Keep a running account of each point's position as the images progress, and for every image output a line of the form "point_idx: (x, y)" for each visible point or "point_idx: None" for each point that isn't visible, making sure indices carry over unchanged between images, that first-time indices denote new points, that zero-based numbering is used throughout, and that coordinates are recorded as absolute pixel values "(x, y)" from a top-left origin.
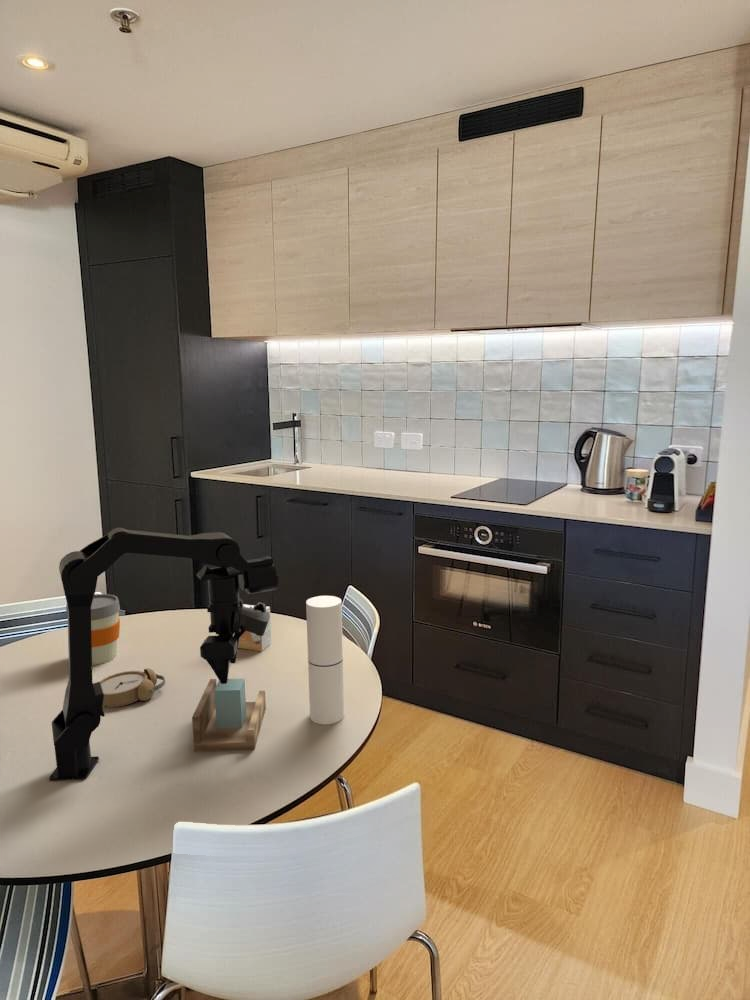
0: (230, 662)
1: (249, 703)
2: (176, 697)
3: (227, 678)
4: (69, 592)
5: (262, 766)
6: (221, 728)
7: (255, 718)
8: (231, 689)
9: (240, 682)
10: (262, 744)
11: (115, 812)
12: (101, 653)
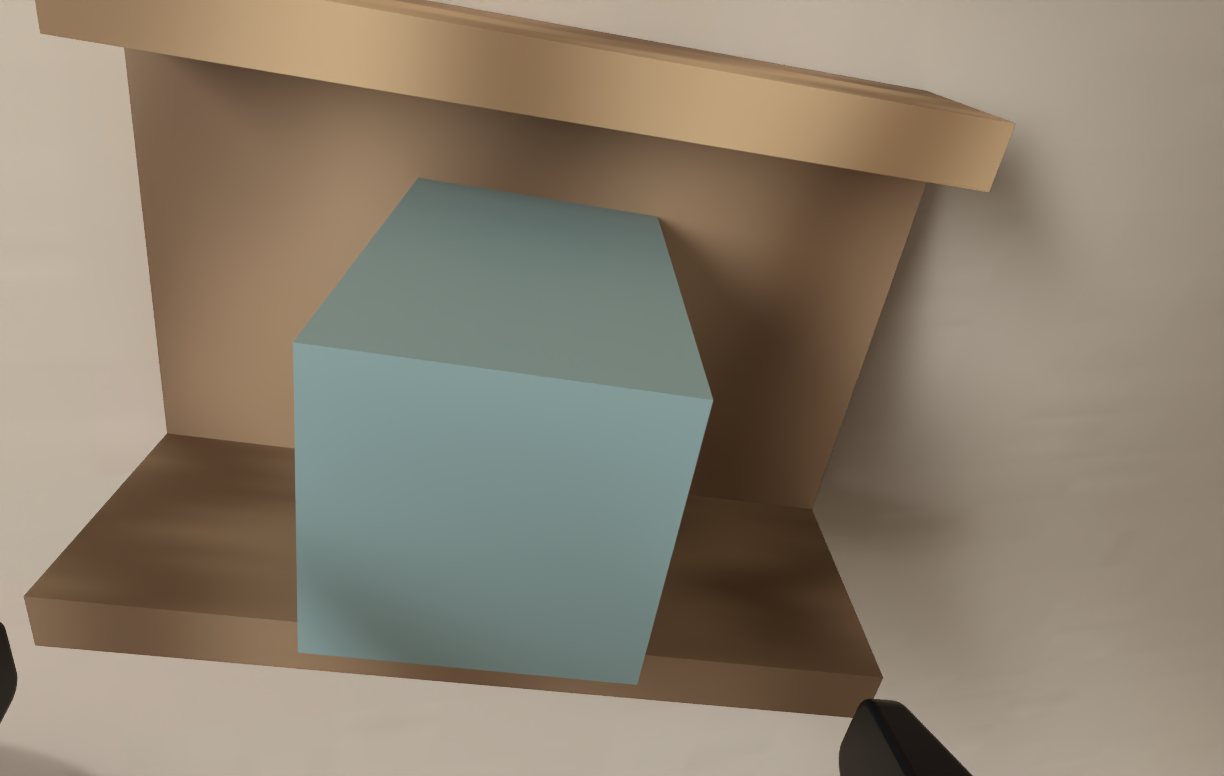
0: (6, 697)
1: (172, 144)
2: (16, 669)
3: (954, 772)
4: None
5: (1213, 25)
6: None
7: (768, 99)
8: (659, 510)
9: (443, 399)
10: (868, 14)
11: (1186, 757)
12: None
